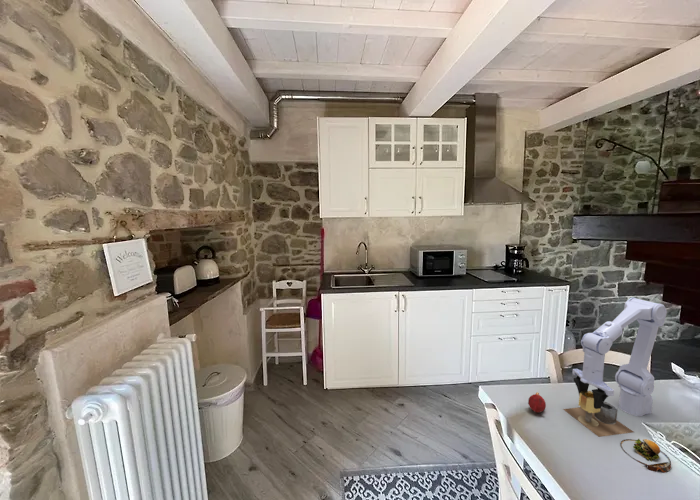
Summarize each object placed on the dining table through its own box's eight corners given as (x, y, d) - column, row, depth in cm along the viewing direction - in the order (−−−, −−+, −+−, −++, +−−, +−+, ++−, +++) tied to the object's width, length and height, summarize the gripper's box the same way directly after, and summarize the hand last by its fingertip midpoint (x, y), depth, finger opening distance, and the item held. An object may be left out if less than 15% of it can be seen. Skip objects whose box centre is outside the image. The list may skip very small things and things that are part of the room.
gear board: (594, 408, 123) (595, 398, 123) (634, 435, 109) (635, 424, 108) (562, 412, 121) (563, 401, 121) (598, 440, 107) (599, 428, 106)
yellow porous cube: (588, 402, 117) (590, 390, 116) (602, 411, 112) (603, 398, 111) (576, 404, 116) (577, 391, 115) (589, 413, 111) (591, 400, 110)
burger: (619, 438, 108) (621, 418, 107) (668, 455, 100) (671, 433, 99) (620, 460, 98) (622, 438, 97) (673, 480, 91) (677, 457, 90)
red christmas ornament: (547, 418, 118) (549, 398, 117) (530, 416, 119) (532, 396, 118) (541, 408, 124) (543, 389, 123) (525, 406, 125) (526, 387, 124)
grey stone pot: (604, 413, 118) (605, 401, 118) (618, 422, 113) (619, 410, 112) (592, 415, 118) (593, 402, 117) (605, 424, 112) (606, 411, 112)
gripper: (566, 358, 118) (563, 392, 120) (602, 379, 104) (598, 417, 106) (583, 357, 119) (580, 390, 121) (620, 377, 105) (616, 414, 107)
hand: (589, 402), depth 113 cm, fingers closed on yellow porous cube, 5 cm apart
